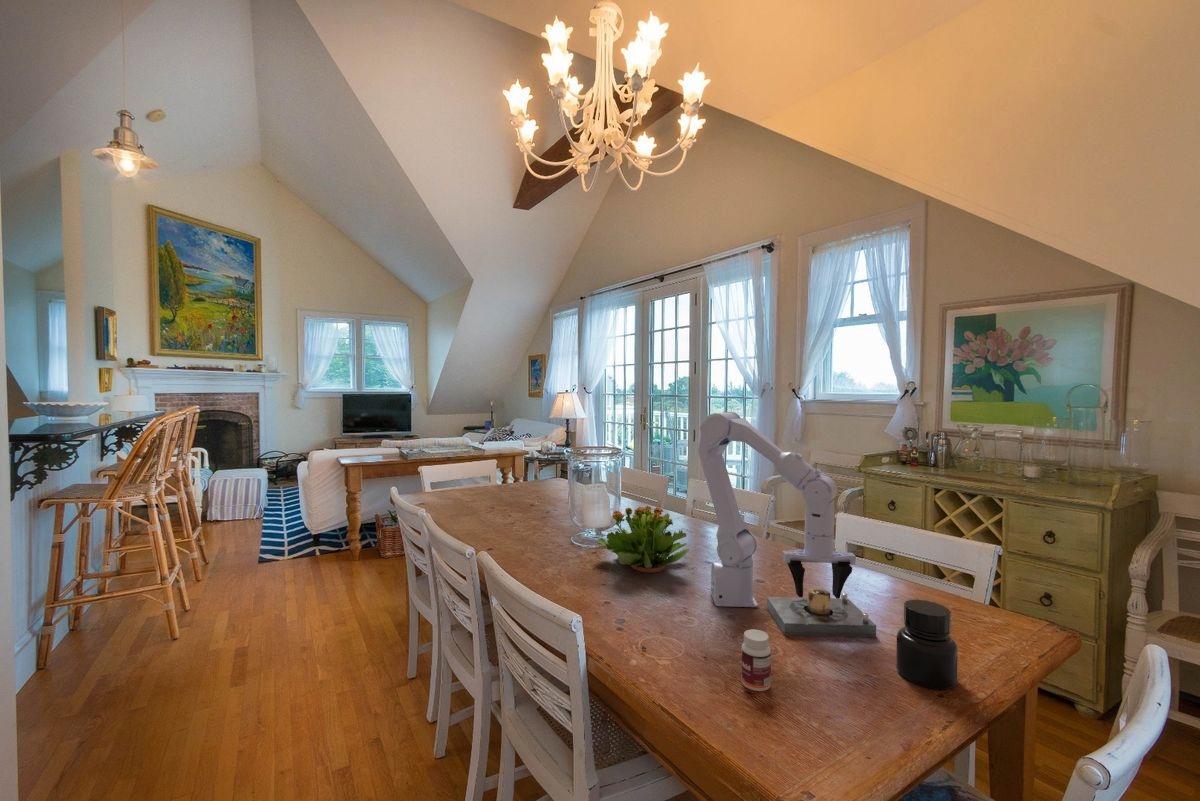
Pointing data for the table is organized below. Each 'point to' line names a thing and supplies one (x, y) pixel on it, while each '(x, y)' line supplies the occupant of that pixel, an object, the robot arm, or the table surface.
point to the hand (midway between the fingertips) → (817, 596)
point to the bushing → (818, 602)
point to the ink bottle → (927, 646)
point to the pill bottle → (756, 660)
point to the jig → (820, 618)
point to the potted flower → (645, 540)
